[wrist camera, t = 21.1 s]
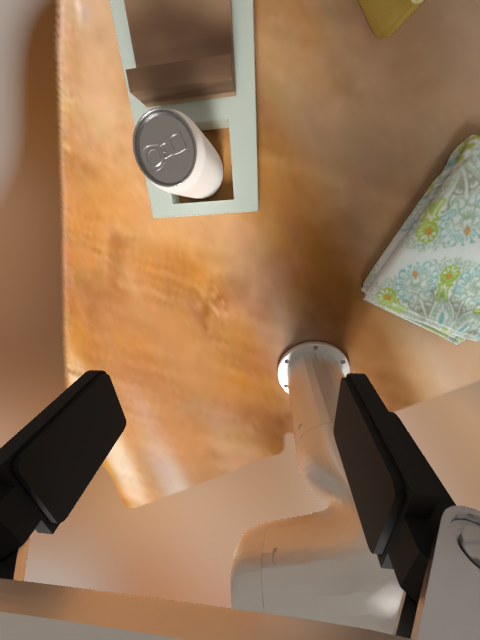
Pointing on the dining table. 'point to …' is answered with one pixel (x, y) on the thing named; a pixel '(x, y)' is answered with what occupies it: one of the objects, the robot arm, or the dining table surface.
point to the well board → (211, 118)
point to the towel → (437, 255)
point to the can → (176, 154)
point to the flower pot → (387, 14)
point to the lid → (181, 50)
